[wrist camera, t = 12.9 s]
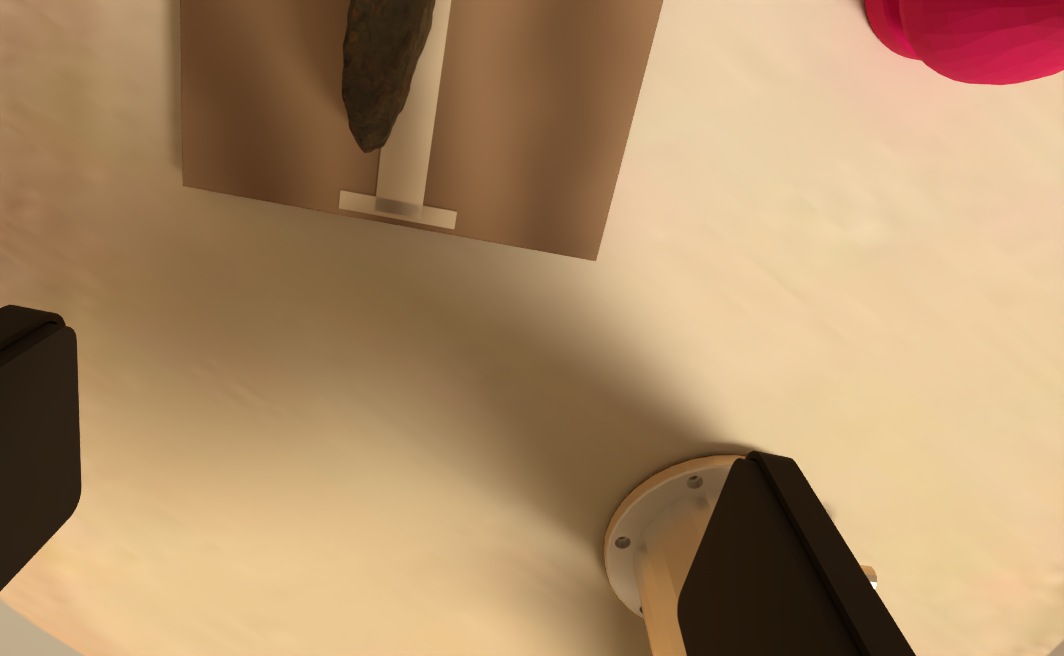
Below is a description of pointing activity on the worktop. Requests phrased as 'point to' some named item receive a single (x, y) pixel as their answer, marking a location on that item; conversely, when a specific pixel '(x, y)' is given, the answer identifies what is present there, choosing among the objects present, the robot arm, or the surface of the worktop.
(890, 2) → the pepper mill
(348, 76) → the hand tool
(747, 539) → the robot arm
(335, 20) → the board
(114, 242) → the worktop surface
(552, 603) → the worktop surface
